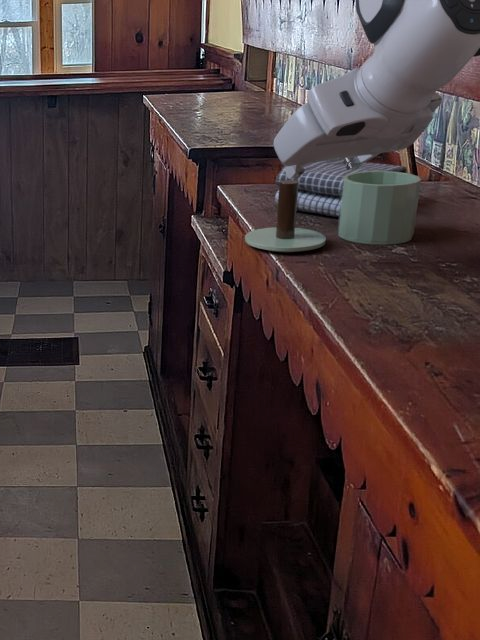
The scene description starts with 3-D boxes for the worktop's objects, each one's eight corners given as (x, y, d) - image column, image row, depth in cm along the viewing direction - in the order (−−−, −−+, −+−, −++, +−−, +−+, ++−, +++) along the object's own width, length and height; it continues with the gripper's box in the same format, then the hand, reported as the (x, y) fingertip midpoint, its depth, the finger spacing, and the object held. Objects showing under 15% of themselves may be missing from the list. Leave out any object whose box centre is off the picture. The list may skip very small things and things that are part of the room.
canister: (420, 231, 128) (428, 173, 125) (401, 248, 121) (409, 187, 118) (350, 223, 134) (356, 168, 131) (328, 239, 127) (333, 181, 123)
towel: (269, 211, 144) (273, 163, 141) (323, 190, 155) (328, 146, 152) (357, 224, 134) (363, 173, 131) (409, 201, 145) (415, 154, 142)
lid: (336, 240, 126) (342, 177, 123) (309, 259, 118) (315, 193, 115) (262, 231, 133) (266, 171, 129) (231, 249, 125) (235, 186, 121)
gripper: (437, 72, 108) (373, 142, 120) (300, 87, 102) (247, 159, 114) (461, 112, 105) (393, 179, 118) (322, 130, 99) (266, 199, 112)
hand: (320, 170), depth 116 cm, fingers open, 8 cm apart
